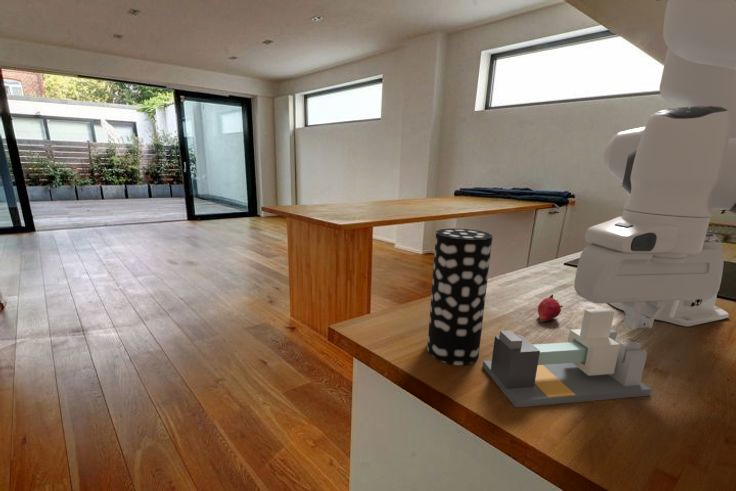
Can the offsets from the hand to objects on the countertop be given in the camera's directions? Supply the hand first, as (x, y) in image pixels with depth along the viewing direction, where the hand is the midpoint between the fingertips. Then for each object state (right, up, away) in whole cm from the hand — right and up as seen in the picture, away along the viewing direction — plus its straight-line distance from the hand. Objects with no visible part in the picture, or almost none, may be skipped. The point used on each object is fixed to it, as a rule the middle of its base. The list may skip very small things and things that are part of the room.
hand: (637, 327), depth 49 cm
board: (-11, -8, 0) cm, 13 cm away
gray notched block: (-3, -8, +2) cm, 8 cm away
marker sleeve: (-7, -6, 0) cm, 9 cm away
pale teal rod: (-11, -4, 0) cm, 12 cm away
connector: (-19, -8, -1) cm, 20 cm away
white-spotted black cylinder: (-25, -6, +7) cm, 27 cm away
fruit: (-3, -4, +20) cm, 21 cm away
